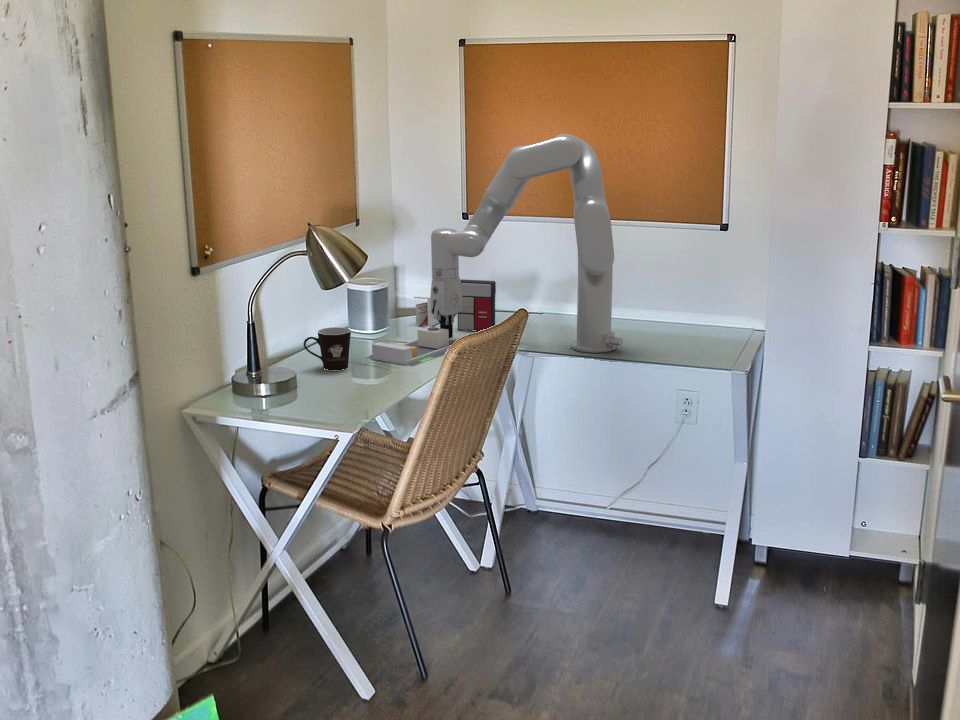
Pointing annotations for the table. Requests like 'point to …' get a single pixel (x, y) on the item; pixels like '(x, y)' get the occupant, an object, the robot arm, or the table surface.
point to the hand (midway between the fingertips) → (446, 337)
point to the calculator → (477, 305)
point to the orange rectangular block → (414, 350)
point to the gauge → (433, 337)
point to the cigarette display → (424, 311)
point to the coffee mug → (333, 347)
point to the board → (404, 353)
